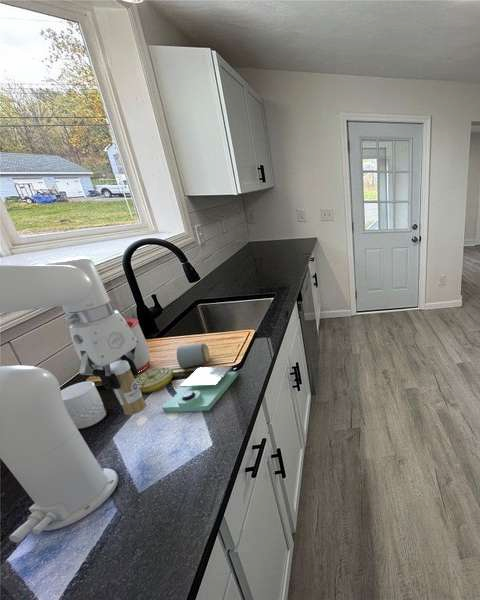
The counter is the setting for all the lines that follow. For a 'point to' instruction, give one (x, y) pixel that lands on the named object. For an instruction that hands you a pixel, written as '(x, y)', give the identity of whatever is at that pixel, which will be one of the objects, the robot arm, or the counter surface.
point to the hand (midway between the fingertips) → (122, 380)
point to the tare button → (188, 395)
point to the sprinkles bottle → (127, 388)
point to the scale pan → (206, 377)
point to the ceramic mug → (192, 355)
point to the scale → (200, 396)
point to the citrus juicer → (138, 346)
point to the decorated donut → (154, 379)
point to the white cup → (83, 404)
